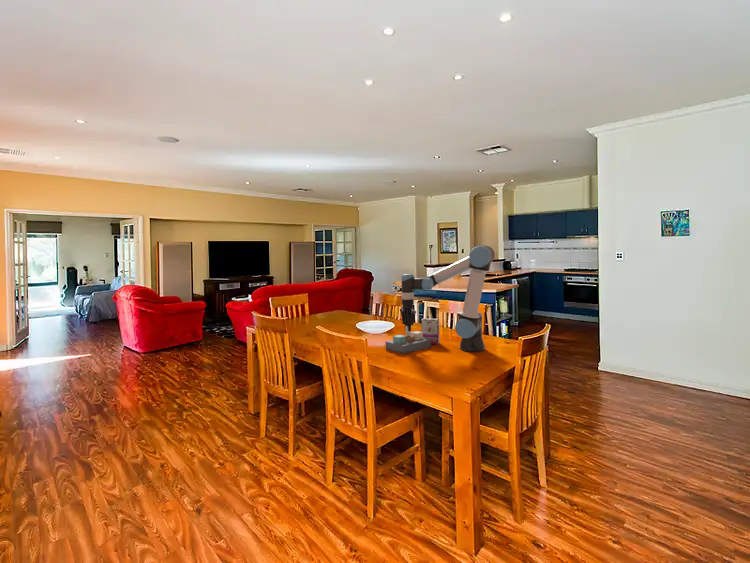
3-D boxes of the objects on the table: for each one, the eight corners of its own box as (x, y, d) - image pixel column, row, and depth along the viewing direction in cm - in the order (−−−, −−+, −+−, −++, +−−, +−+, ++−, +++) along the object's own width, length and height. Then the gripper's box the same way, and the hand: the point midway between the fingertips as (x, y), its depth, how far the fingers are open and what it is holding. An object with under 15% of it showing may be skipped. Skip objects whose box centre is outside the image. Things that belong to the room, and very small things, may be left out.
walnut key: (414, 343, 255) (414, 336, 254) (408, 344, 251) (408, 337, 251) (408, 341, 259) (408, 334, 259) (402, 343, 256) (402, 336, 255)
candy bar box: (439, 342, 267) (439, 318, 265) (438, 344, 262) (437, 319, 261) (423, 341, 271) (422, 317, 269) (421, 343, 266) (421, 319, 264)
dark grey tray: (430, 347, 257) (430, 339, 256) (402, 354, 242) (402, 346, 241) (413, 342, 269) (413, 335, 269) (385, 349, 254) (385, 341, 254)
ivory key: (422, 339, 259) (422, 332, 259) (416, 340, 256) (416, 333, 255) (416, 337, 264) (416, 331, 263) (410, 339, 260) (410, 332, 260)
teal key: (405, 343, 250) (405, 336, 250) (399, 344, 247) (399, 337, 246) (399, 341, 254) (399, 334, 254) (393, 343, 251) (393, 336, 250)
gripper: (419, 299, 250) (419, 336, 252) (405, 297, 260) (405, 333, 262) (410, 300, 245) (411, 338, 247) (396, 298, 255) (396, 335, 257)
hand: (408, 335), depth 255 cm, fingers closed
